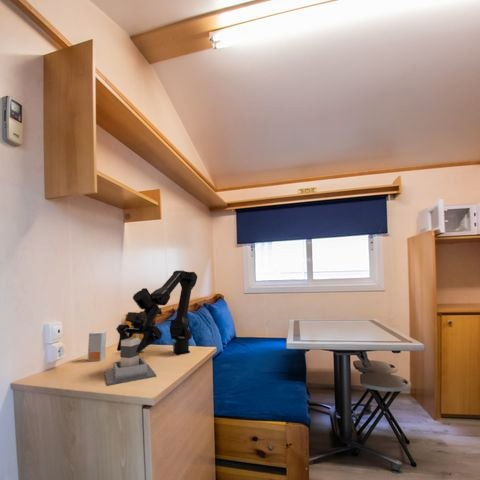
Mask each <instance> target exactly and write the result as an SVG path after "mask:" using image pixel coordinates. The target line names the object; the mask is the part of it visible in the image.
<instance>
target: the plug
mask: <svg viewBox="0 0 480 480" xmlns="http://www.w3.org/2000/svg"><path fill="white" fill-rule="evenodd" d="M139 339H140V337H139V338H136V337H130V338H128V339H124V340H121V350H120V351H119V353H120V354H119V357H120V361H121V366H120V368H122V367H128V366H135V365H139V358H140V352H139V353H137V352H136V350H137V348H138V346H139Z"/></svg>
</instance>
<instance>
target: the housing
mask: <svg viewBox="0 0 480 480" xmlns="http://www.w3.org/2000/svg"><path fill="white" fill-rule="evenodd" d="M120 366H121V360H118V361H116V360H115V361H112V369H109V370H104V376H105V377H104V378H105V381H106V386H112V385H118V384H123V383H130V382H133V381H135V382H136V381H139V380H140V381H141V380H145V379H151V378H155V377H156V378H157V374H156V372H155V371H154V370H153V369H152V368H151V366H150V365H149V363H147V362H146V361H145V359H144V357H139V365H135V366H128V367H122V368H120ZM129 381H130V382H129Z"/></svg>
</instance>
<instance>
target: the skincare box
mask: <svg viewBox="0 0 480 480" xmlns="http://www.w3.org/2000/svg"><path fill="white" fill-rule="evenodd" d="M106 342H107V331H92V332H89V333H88V344H87V345H88V347H87V361H88V362H95V361H97V362H101V361H103V360H104V359H106V350H107V349H106V344H107V343H106Z"/></svg>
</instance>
